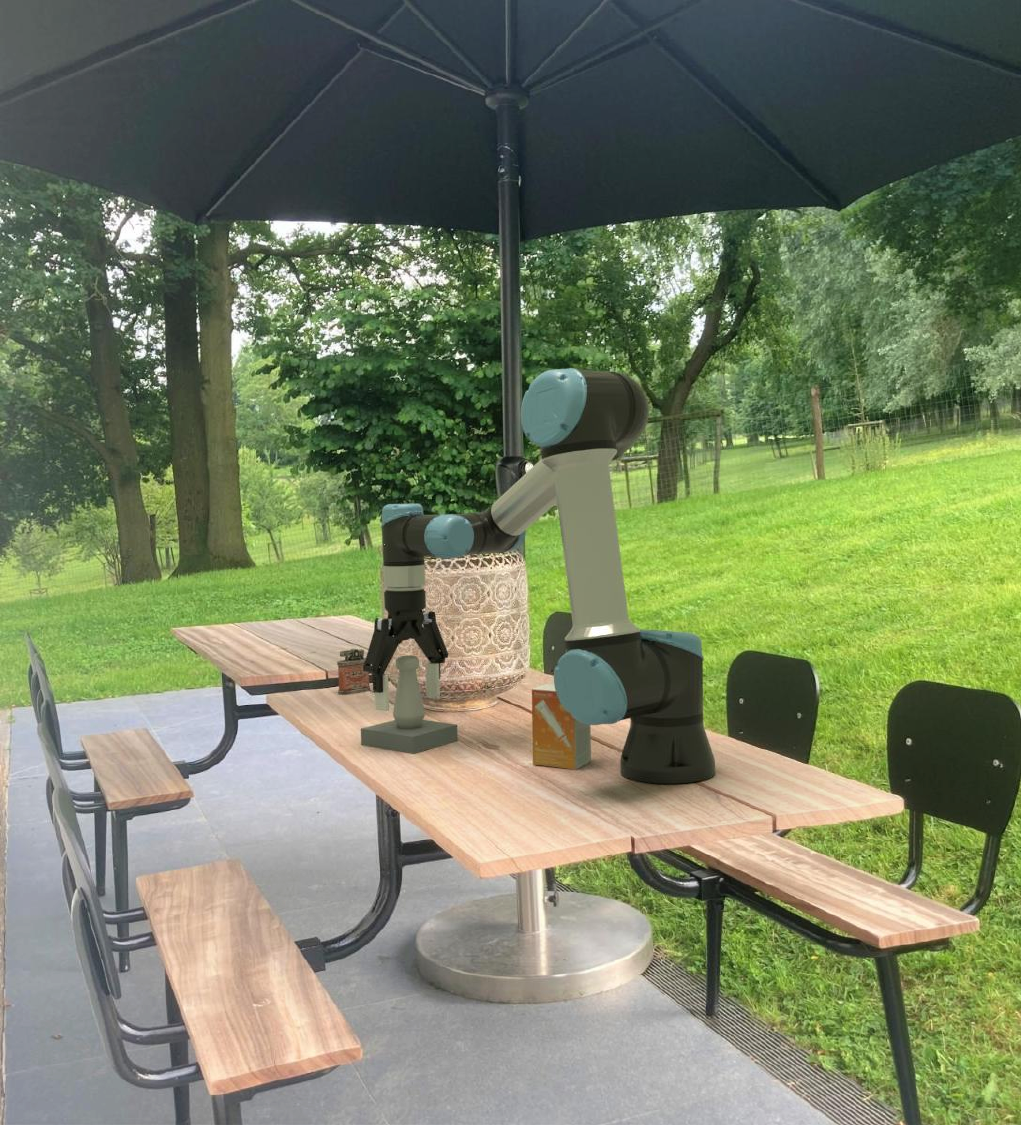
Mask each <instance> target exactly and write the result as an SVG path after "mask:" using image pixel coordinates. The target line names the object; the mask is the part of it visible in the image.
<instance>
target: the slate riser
mask: <svg viewBox="0 0 1021 1125" xmlns="http://www.w3.org/2000/svg"><path fill="white" fill-rule="evenodd" d="M458 738H459V737H458V724H455V723H449V722H441V721H434V720H427V719H423V720H422V723H421V725H420V727H418V728H413V729H401V728H399V727H398V726H397V723H396V721H395V719H394V720H390V721H389V720H388V721H386V722H381V723H378V724H375V725H370V726H366V727H362V728H360V745H361V746H365V747H372V748H379V749H384V750H390V751H396V752H402V753H408V754H416V753H420V752H423V751H427V750H429V749H433V748H437V747H441V746H444V745H447V744H451V743H454V742H458V740H459V739H458Z"/></svg>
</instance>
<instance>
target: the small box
mask: <svg viewBox="0 0 1021 1125" xmlns="http://www.w3.org/2000/svg"><path fill="white" fill-rule="evenodd" d="M531 716H532V717H531V720H532V722H531V725H532V726H531V727H532V728H531V729H532V737H531V738H532V764H533V765H535V766H544V767H552V768H560V769H569V770H573V771H575V770H578V769H580V768H581V767H584V766H585V765H587V764H589V763H590V762H591V761H592V749H591V748H592V745H591V744H592V743H591V742H592V739H591V730H592V729H591V725H587V724H584V723H581V722H579V721H577V720H576V719H574V718H573V717H572V716H571V714H570V713H569V712H567V711H566V710H565V709H564V707H563V706H562V704H561V703H560V701H559V699H558V696H557V693H556V690H555V686H554V683H549V682H548V683H544V684H542V685H539V686H537V687H533V688H532V689H531Z"/></svg>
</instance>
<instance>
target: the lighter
mask: <svg viewBox="0 0 1021 1125" xmlns="http://www.w3.org/2000/svg"><path fill="white" fill-rule="evenodd" d="M364 656H365V648H364V649H362V648H361V649H360V648H359V649H358V648H354V647H353V648H351V649H350V650H349V649H347V650H341V651H340V652H339V657H341V658H344V659H342V660H337V661H336V662H337V663H336V664H337V667H338V668H337V669H338V670H337V671H338V673H337V674H338V675H337V676H338V689H337V691H338V692H337V693H338V694H337V695H340V696H345V695H346V696H347V695H355V694H362V693H366V692H370V691H371V686H370V674H369V673H368V672H364V671H363V666H364V663H365V659H366V657H364Z"/></svg>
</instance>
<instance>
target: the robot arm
mask: <svg viewBox="0 0 1021 1125" xmlns="http://www.w3.org/2000/svg"><path fill="white" fill-rule="evenodd" d="M649 416H650V406H649V401H648V398H647V395H646V393H645V391H644V389H643V388H642V386H641V385H640V384H639V383H638V382H637V381H636V380H635V379H633V378H632V377H631V376H629V375H627V374H624V373H621V372H617V371H603V370H602V371H601V370H599V371H598V370H589V369H588V370H587V369H579V368H577V369H576V368H573V367H567V368H560V369H559V368H555V369H549V370H546V371H544V372H542V373H540V374H539V375H537V376H536V377H535V378H534V380H532V382H530V384H529V386H528V390H526V391H525V393H524V395H523V399H522V402H521V406H520V424H521V427H522V431H523V433H524V434H525V437H528V441H530V442H531V443H533V444H534V445H535V446H538V447H539V448H540V456H541V459H539V460H538V461H537V462H536V463H535V464H534V465H533V466H532V467H531V468H529V470H528V471H527V472H526V473H524V475H522V476H521V478H519V479H518V480H517V481H516V482H515V483H514V484H513V485H511V487H509V488H508V490H507V491H505V492H504V493H503V494H501V496H500V497H499V498H498V499H496V501H494V502H493V503H492V504H491V505H489V507H488V508H487V509H485V510H484V511H480V512H470V513H469V512H467V513H450V514H446V513H444V514H424V508H423V506H422V505H421V503H389V504H386V505H384V506H383V507H382V510H381V526H380V528H381V540H382V541H381V543H382V545H381V546H382V563H383V564H382V565H383V566H382V567H383V586H384V587H385V588H387V589H385V590H384V593H383V594H384V597H383V598H384V600H383V601H384V604H383V605H384V610H386V611H387V614H388V615H387V618H379V617H376V618H375V619H374V627H373V628H374V629H373V630H374V631H373V634H372V637H371V640H370V643H369V647H368V650H367V653H366V657H365V658H366V659H365V663H364V666H363V671H364V672H368V673H369V675H370V674H371V676H372V677H371V678H372V691H373V693H374V702H375V704H374V706H375V710H376V711H383V712H388V711H390V689H389V674H388V673H385V672H386V670H387V668H388V666H389V664H390V663H391V661H392V658H393V656H394V655H395V652H396V651H397V649H398V647H399V645H400V644H402V643H403V641H407V640H411V639H413V640H414V641H415V643H416V644H417V646H418V647H419V649H420V650H421V651H422V654H423V655H424V656H425V657H426V659H427V661H428V662H425V691H426V694H425V695H426V698H428V699H429V698H430V699H437V700H438V699H441V693H440V689H441V688H440V680H441V677H442V675H441V672H442V670H441V664H444V663H445V662H446V659H448V657H449V652H448V649H447V647H446V644H445V642H444V639H443V637H442V634H441V632H440V629H439V626H438V623H437V616H436V612H435V611H432V610H429V611H428V610H424V609H426V608H427V603H426V602H427V600H426V599H427V598H426V594H427V592H426V590H425V589H424V588H423V587H424V586H425V585H426V570H425V566H426V565H425V564H426V563H425V557H426V558H438V559H439V558H441V559H442V560H447V559H458V558H462V557H464V556H474V555H485V554H488V555H489V554H505V553H508V552H513V551H516V550H518V549H519V548H520V547H521V546H522V545H523V542H524V539H525V538H526V535H527V532H526V531H527V530H528V528H530V527H531V526H532V525H533V524H534V523H535V522H537V521H538V520H539V519H541V517H543V516H544V515H545V514H546V513H547V512H548V511H549V510H551V509H552V508H553V507H554V506H555V505H557V511H558V520H559V526H560V535H561V542H562V543H561V544H562V549H563V550H562V551H563V559H564V565H565V566H564V567H565V574H566V582H567V583H566V584H567V589H568V597H569V604H570V605H569V606H570V612H571V614H570V615H571V620H572V621H571V622H572V627H571V629H570V631H569V632H568V633H567V634H566V636H565V637H564V645H565V653H564V654H563V655H562V656H561V657H560V658H559V659H558V661H557V665H556V666H555V667H554V670H553V684H554V686H555V690H556V693H557V696H558V699H559V701H560V703H561V704H562V706H563V707H564V709H565V710H566V711H567V712H569V713H570V714H571V716H572V717H573V718H574V719H576V720H577V721H579V722H581V723H584V724H587V725H590V726H601V725H615V724H617V723H618V722H621V721H623V720H627V719H630V724H629V729H628V733H627V736H626V738H625V743H624V745H623V749H622V753H621V755H620V759H619V761H620V762H619V764H620V765H619V766H620V774H621V776H623V777H624V778H627V779H630V780H634V781H637V782H643V783H649V784H650V783H653V784H670V785H672V784H687V783H695V782H699V781H704V780H707V779H710V778H712V777H713V776H715V774H716V759H715V755H714V754H713V753H714V752H713V750H712V747H711V744H710V741H709V737H708V735H707V733H706V729H705V725H704V679H703V678H704V675H703V674H704V672H703V670H704V669H703V668H704V667H703V666H704V665H703V664H704V662H703V661H704V660H705V659H704V655H703V647H702V646H703V645H702V641H701V638H700V637H699V636H698V635H697V634H696V633H691V632H685V631H684V632H682V631H671V630H658V629H642V628H641V629H640V628H639V627H638V626H637V625H635V623H633V622H632V621H631V620H630V618H629V612H628V604H627V596H626V594H627V593H626V589H625V588H626V587H625V580H624V579H625V578H624V571H623V564H622V557H621V550H620V540H619V533H618V526H617V516H616V509H615V502H614V501H615V500H614V494H613V488H612V487H613V486H612V480H611V479H612V478H611V471H610V463H611V462H615V461H616V460H618V459H619V458H620V457H621V456H622V455H624V454H625V453H626V452H627V451H628V450H629V449H631V447H633V446H634V444H636V443H637V442H638V440H639V439H640V437H641V436H642V435H643V433H644V432H645V430H646V427H647V424H648V420H649ZM384 544H385V545H384Z"/></svg>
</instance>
